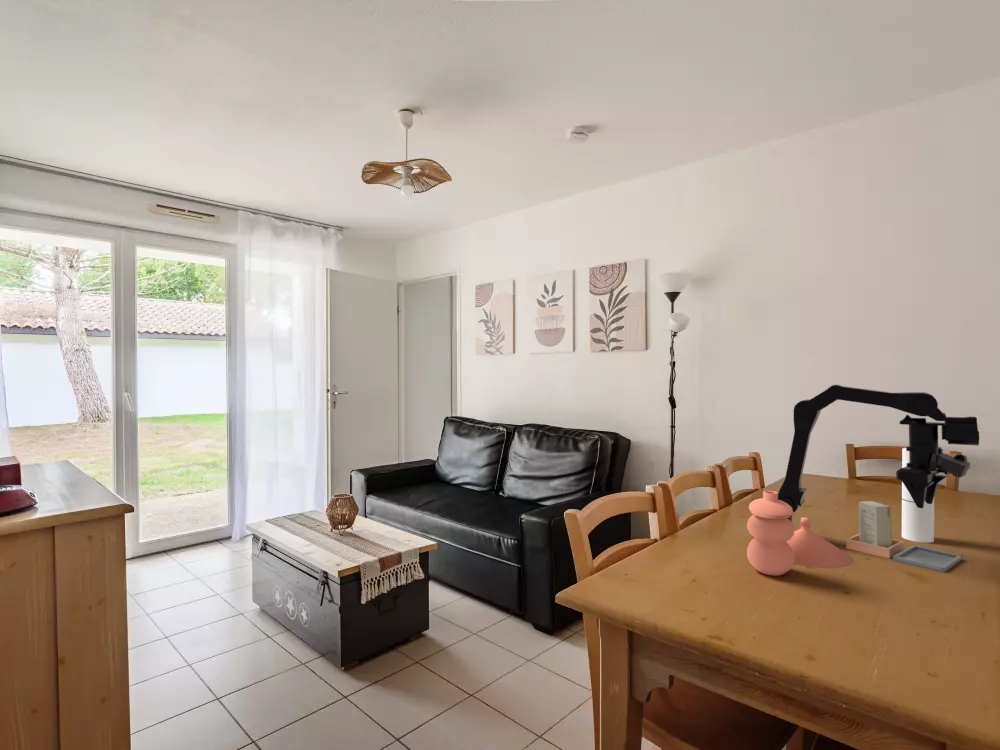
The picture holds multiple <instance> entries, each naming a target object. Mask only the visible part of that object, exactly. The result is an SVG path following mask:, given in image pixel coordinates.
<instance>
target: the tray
mask: <svg viewBox="0 0 1000 750" xmlns="http://www.w3.org/2000/svg"><path fill="white" fill-rule="evenodd" d="M962 560H963V555H959V554H955V553H951V552H946V551H941V550H937V549H933V548H927V547H924V546H918V545H915V544H913V545H911V546H909V547H907V548H906V549H904V550H903V551H902V552H900V553H898V554H896V555H894V556H893V557H892V561H893V562H896V563H897V562H898V563H901V564H906V565H910V566H915V567H919V568H922V569H926V570H927V569H928V570H931V571H936V572H941V573H946V572H947V571H948V570H950V569H951V568H952V567H954V566H956V565H957V564H958V563H960V562H962Z"/></svg>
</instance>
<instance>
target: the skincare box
mask: <svg viewBox="0 0 1000 750" xmlns="http://www.w3.org/2000/svg"><path fill="white" fill-rule="evenodd" d="M858 526H859V527H858V529H859V530H858V532H859V533H858V534H859V541H860V542H864V543H868V544H872V545H877V546H881V547H885V548H888V547H890V546H892V506H891V505H887V504H883V503H880V502H877V501H870V500H869V501H859V502H858Z"/></svg>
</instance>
